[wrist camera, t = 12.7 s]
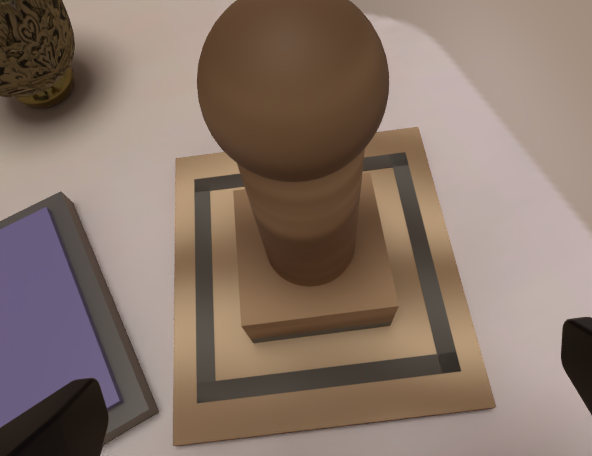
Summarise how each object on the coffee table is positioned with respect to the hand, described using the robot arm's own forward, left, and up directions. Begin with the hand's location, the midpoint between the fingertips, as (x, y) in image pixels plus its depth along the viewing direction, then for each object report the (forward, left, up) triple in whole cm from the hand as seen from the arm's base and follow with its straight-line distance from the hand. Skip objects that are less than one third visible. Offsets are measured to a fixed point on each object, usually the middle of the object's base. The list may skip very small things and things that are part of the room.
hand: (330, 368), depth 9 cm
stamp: (+4, -5, -11) cm, 13 cm away
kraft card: (+4, -5, -12) cm, 13 cm away
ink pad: (+13, +6, -12) cm, 19 cm away
